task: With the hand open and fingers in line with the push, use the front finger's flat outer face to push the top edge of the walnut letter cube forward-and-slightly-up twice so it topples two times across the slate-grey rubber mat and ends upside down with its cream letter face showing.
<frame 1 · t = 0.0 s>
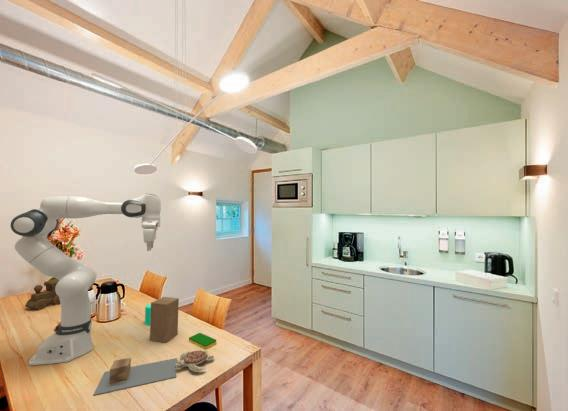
hand: (150, 249, 131), 48 cm above the table, fingers open, 8 cm apart
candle: (150, 323, 149), on the table
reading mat: (140, 375, 101), on the table
wooden toy train: (46, 306, 174), on the table
dish sponge: (202, 343, 128), on the table
decorative turtle: (193, 364, 109), on the table, touching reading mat
letter cube: (120, 378, 99), resting on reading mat
wooden block: (164, 337, 133), on the table
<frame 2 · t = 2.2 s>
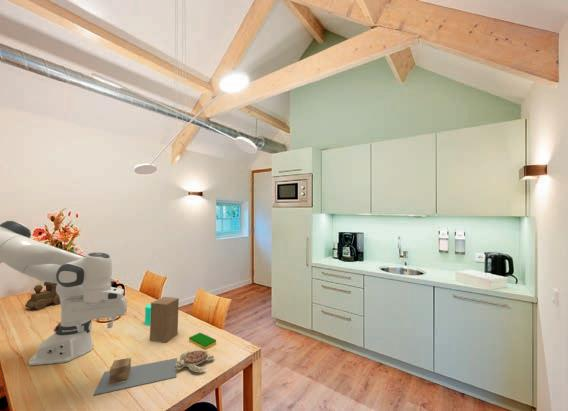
hand: (95, 329, 96), 21 cm above the table, fingers open, 8 cm apart
nothing on the table moved.
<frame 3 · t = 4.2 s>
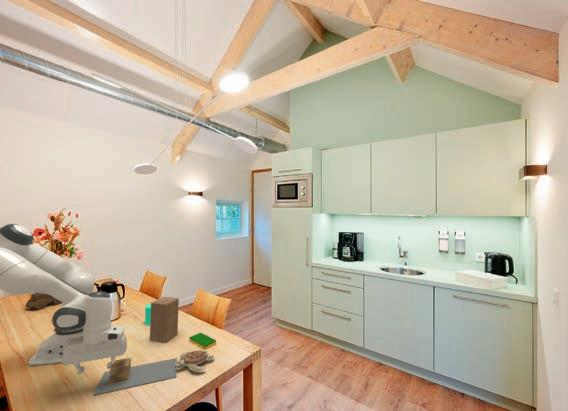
hand: (95, 370, 96), 6 cm above the table, fingers open, 8 cm apart
letter cube: (120, 378, 99), resting on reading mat, touching gripper
everything else where it was.
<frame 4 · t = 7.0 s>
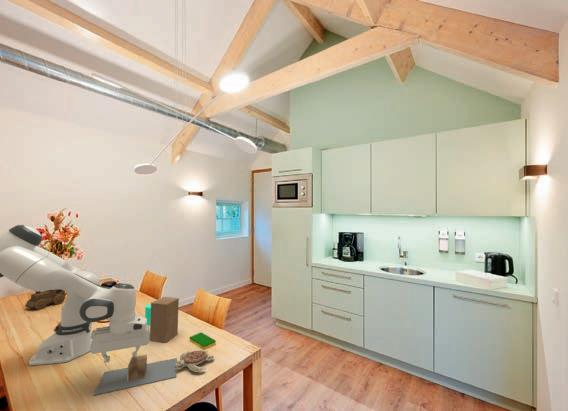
hand: (121, 359, 99), 8 cm above the table, fingers open, 8 cm apart
letter cube: (129, 369, 100), point 3 cm above the table, tilted 90°, touching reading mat
everything else where it was.
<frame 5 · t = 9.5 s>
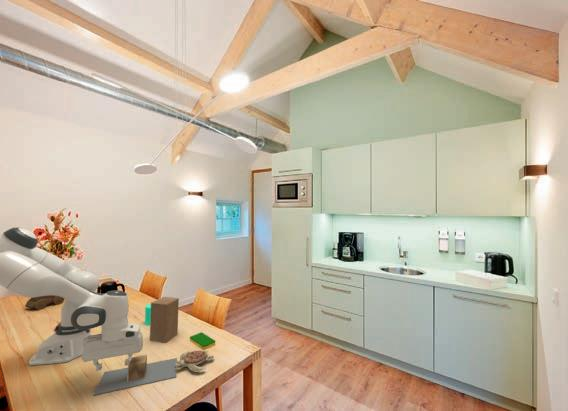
hand: (113, 366, 98), 5 cm above the table, fingers open, 8 cm apart
letter cube: (129, 369, 100), point 3 cm above the table, tilted 90°, touching gripper, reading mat
everything else where it was.
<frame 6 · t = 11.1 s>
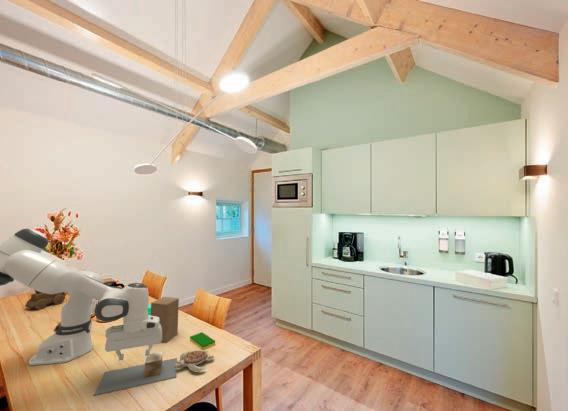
hand: (134, 357, 101), 8 cm above the table, fingers open, 8 cm apart
letter cube: (154, 357, 103), point 6 cm above the table, tilted 180°, touching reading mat
everything else where it was.
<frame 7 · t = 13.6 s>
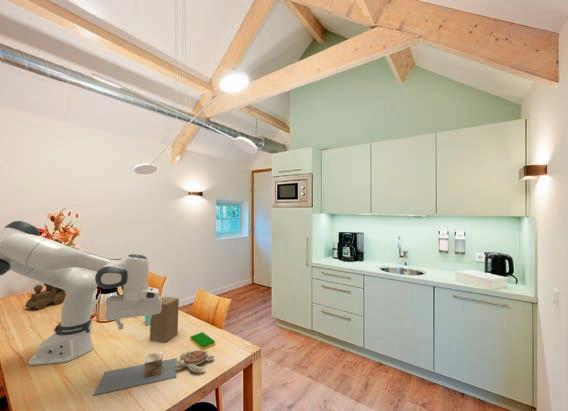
hand: (134, 326, 102), 20 cm above the table, fingers open, 8 cm apart
nothing on the table moved.
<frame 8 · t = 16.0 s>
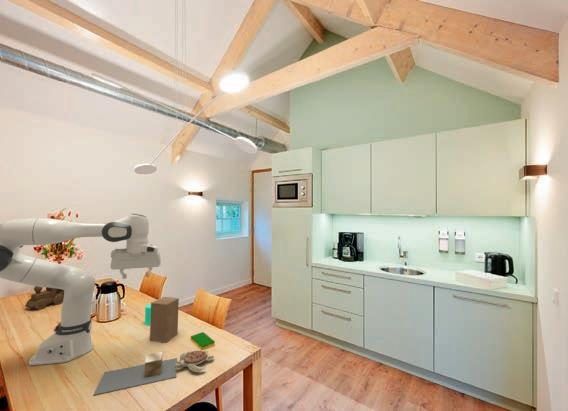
hand: (136, 277, 115), 37 cm above the table, fingers open, 8 cm apart
nothing on the table moved.
at the end: letter cube inside the target area (2.0 cm from its centre), point 6.4 cm above the table; letter cube tilted 180°; letter cube moved 13.4 cm from its start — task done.
